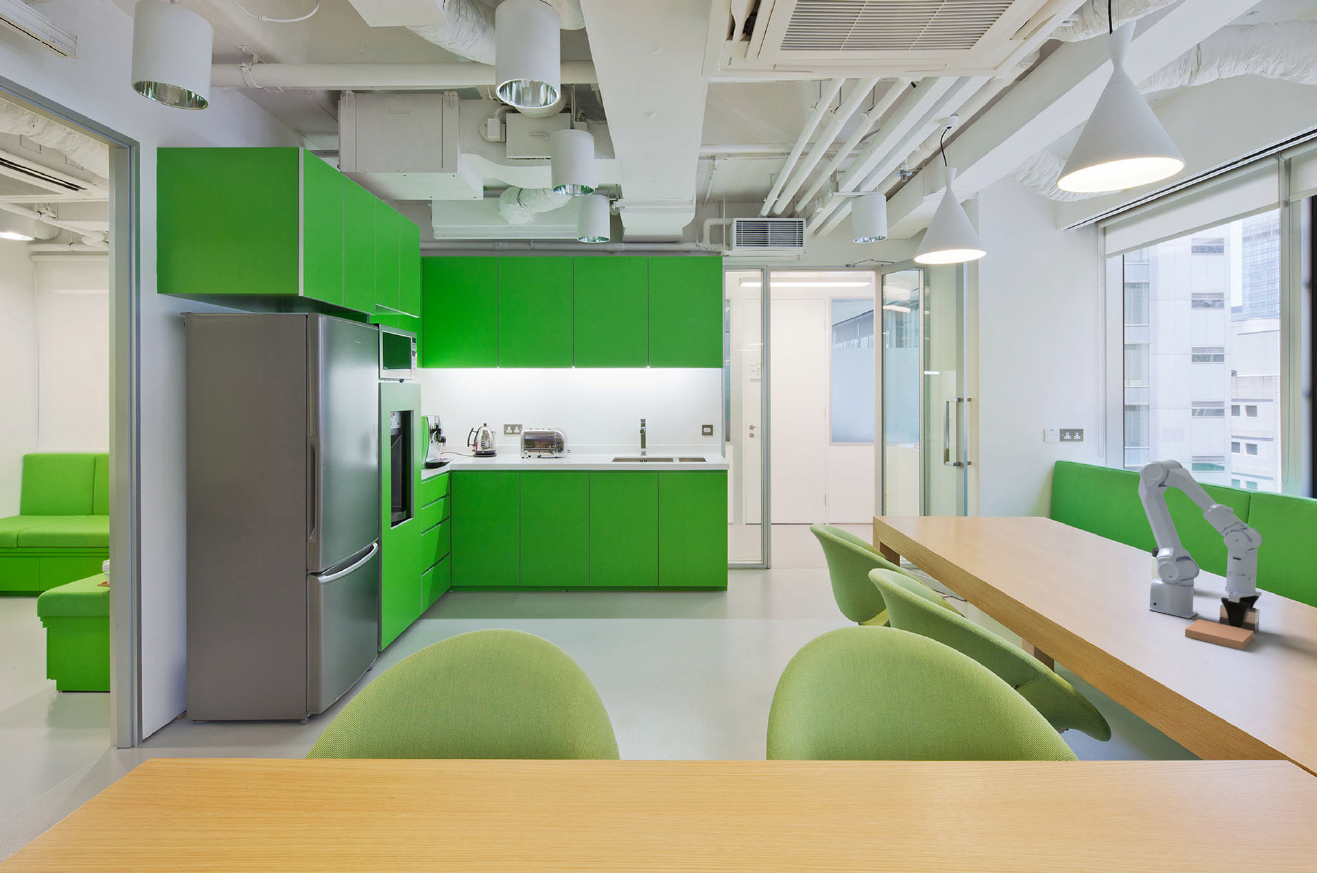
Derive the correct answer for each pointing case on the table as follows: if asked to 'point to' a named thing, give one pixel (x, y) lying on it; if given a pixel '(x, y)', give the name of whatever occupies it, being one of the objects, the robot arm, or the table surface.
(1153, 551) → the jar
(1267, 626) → the table surface
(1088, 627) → the table surface
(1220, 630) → the stand
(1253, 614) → the block
